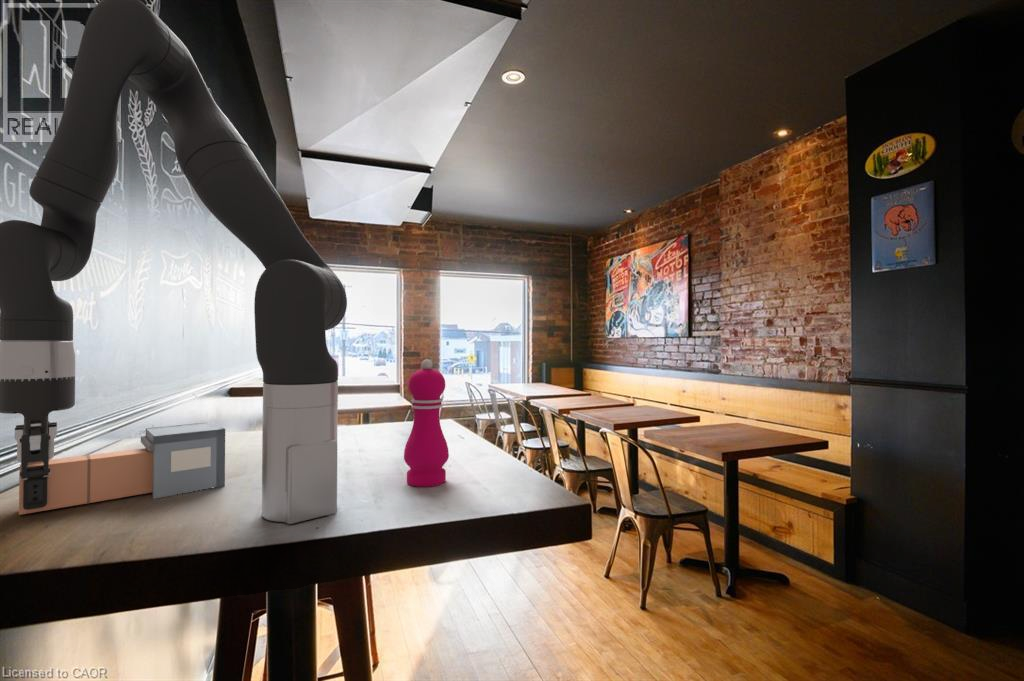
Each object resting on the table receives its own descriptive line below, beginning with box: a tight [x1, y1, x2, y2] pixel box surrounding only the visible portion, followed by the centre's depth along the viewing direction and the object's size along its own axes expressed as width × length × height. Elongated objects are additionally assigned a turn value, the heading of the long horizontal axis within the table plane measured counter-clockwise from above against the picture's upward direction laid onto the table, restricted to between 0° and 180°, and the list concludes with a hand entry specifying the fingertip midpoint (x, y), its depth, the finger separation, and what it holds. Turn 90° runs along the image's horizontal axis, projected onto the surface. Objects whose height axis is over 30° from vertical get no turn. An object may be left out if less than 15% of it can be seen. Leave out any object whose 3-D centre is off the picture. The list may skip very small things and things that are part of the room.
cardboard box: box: [18, 447, 153, 516], centre depth 68 cm, size 4×15×6 cm, turn 134°
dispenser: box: [140, 421, 226, 499], centre depth 75 cm, size 9×10×9 cm
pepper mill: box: [403, 358, 450, 488], centre depth 78 cm, size 7×7×20 cm
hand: (35, 503), depth 64 cm, fingers closed on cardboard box, 3 cm apart
